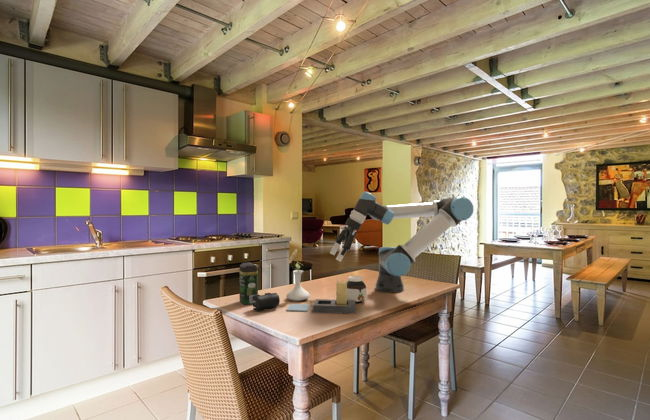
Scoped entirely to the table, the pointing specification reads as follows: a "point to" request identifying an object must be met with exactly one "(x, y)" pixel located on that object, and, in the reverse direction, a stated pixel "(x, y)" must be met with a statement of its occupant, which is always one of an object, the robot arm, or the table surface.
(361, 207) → the robot arm
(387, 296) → the table surface
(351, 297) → the spread jar
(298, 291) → the flower in vase
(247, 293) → the coffee jar
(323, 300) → the steel socket block
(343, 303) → the brass peg
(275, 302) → the end cap
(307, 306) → the slate pad
